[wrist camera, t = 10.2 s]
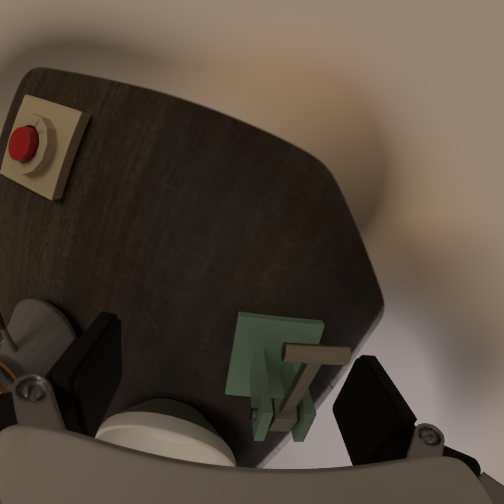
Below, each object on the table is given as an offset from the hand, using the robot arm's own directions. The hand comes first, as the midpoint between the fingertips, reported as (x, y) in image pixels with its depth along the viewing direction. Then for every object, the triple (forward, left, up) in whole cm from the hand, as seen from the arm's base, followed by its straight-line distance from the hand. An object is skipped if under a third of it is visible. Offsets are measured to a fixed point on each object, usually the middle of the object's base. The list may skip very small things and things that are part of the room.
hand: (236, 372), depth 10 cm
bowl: (+24, +18, -21) cm, 36 cm away
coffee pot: (+24, -7, -21) cm, 33 cm away
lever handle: (+1, +11, -11) cm, 16 cm away
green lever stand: (+5, +15, -21) cm, 26 cm away
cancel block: (+13, -22, -21) cm, 33 cm away
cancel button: (+13, -22, -17) cm, 31 cm away
